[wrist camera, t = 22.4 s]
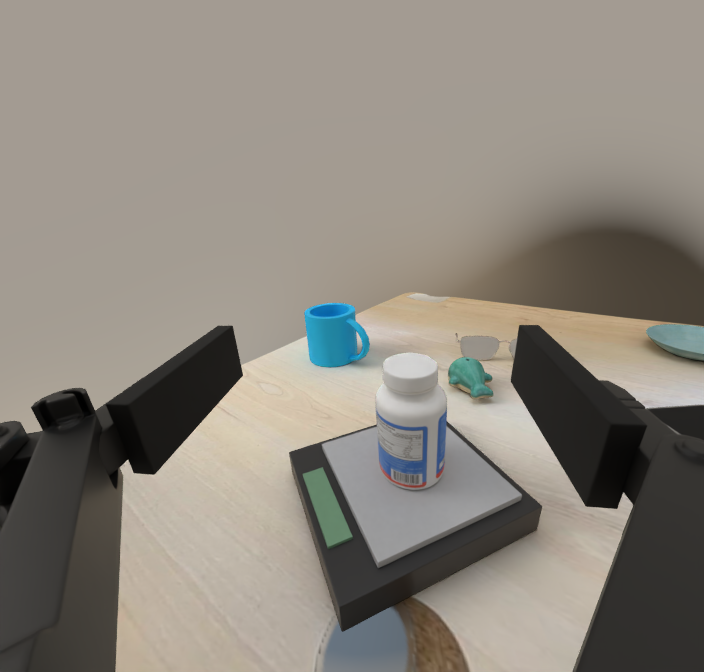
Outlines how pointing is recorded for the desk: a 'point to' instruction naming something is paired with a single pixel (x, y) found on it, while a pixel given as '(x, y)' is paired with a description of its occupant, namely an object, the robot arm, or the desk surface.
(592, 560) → the desk surface
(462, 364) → the whale figurine
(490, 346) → the eyeglasses
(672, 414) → the external hard drive
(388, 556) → the scale
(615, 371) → the desk surface
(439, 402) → the pill bottle
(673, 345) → the saucer
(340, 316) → the mug
